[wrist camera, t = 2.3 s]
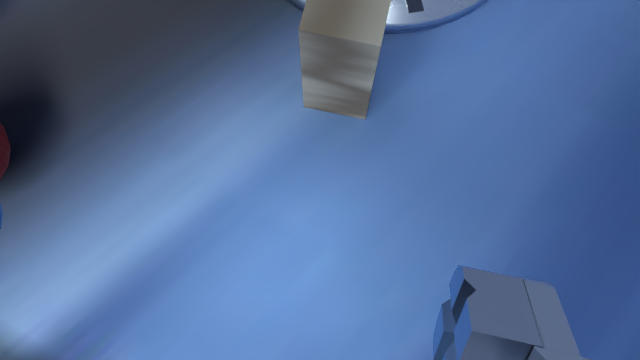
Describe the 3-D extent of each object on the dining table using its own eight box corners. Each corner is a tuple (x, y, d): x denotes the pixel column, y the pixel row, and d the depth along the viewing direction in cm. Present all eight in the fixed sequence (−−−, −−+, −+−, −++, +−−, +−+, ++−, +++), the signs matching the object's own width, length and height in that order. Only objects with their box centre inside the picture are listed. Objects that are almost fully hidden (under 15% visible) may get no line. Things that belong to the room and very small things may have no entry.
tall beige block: (375, 75, 34) (393, -11, 26) (365, 119, 34) (381, 46, 25) (315, 62, 35) (313, -27, 26) (303, 106, 34) (298, 29, 25)
